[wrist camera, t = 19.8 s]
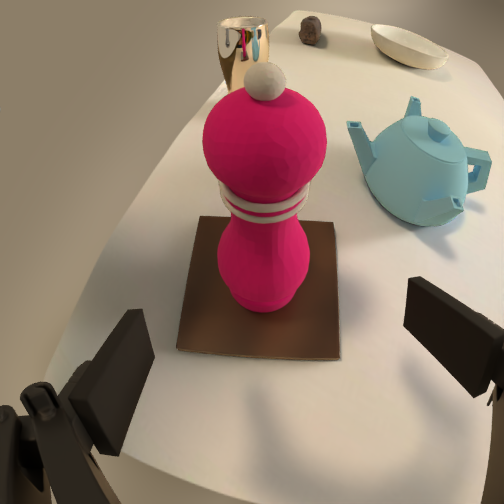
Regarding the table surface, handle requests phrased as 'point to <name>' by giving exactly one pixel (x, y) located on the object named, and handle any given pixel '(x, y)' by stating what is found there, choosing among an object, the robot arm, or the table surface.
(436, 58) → the serving bowl
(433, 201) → the teapot
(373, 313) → the table surface
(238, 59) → the beer glass
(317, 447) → the table surface
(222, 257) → the pepper mill
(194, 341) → the walnut board
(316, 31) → the perforated stone tool
